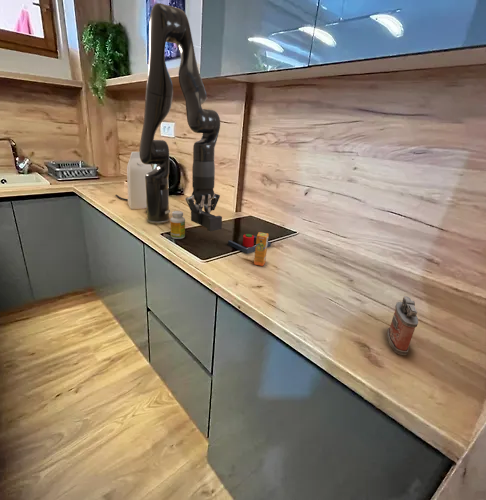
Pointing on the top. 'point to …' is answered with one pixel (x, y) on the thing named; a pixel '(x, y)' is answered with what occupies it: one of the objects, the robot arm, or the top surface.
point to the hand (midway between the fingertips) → (202, 222)
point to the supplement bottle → (177, 225)
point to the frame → (243, 249)
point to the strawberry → (248, 240)
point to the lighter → (402, 325)
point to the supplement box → (261, 248)
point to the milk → (137, 181)
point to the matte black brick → (209, 221)
